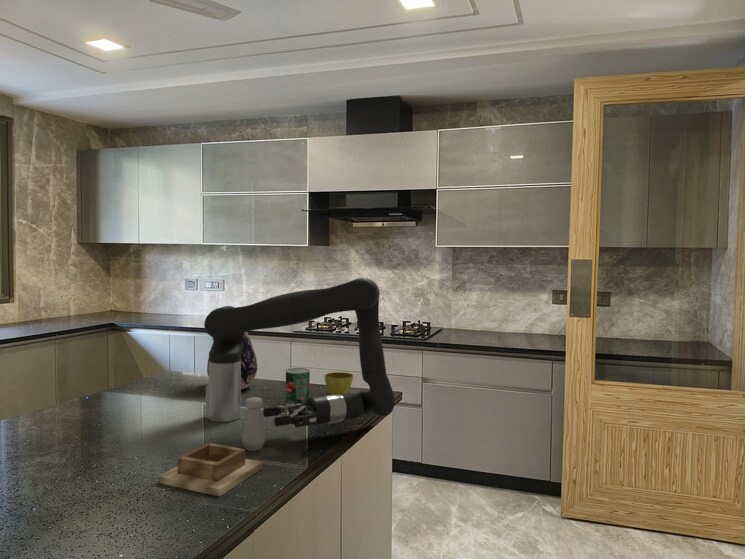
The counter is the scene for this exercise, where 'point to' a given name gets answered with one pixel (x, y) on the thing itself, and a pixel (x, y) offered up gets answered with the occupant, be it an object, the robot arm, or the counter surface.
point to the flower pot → (338, 382)
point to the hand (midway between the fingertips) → (269, 417)
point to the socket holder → (211, 469)
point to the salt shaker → (253, 425)
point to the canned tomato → (297, 385)
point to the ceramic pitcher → (246, 362)
